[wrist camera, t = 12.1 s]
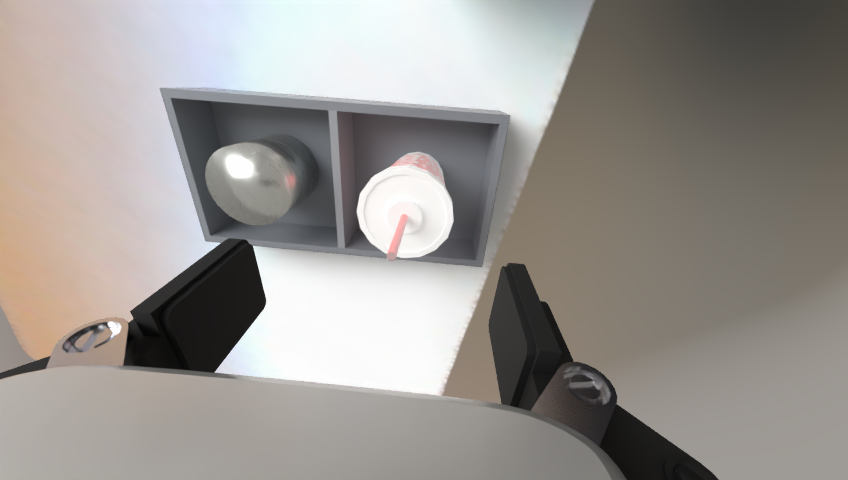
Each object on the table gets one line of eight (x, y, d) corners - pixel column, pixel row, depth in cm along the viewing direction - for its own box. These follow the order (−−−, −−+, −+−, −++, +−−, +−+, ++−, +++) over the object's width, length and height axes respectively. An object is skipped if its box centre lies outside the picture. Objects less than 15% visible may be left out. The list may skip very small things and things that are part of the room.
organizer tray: (205, 87, 25) (159, 87, 21) (499, 110, 24) (510, 115, 20) (236, 221, 31) (205, 241, 27) (477, 243, 30) (482, 267, 26)
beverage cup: (456, 146, 25) (464, 202, 13) (447, 213, 28) (447, 313, 16) (384, 139, 25) (323, 187, 13) (382, 206, 28) (331, 300, 16)
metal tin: (247, 130, 26) (195, 142, 20) (315, 136, 26) (280, 148, 20) (259, 197, 29) (216, 222, 23) (321, 202, 28) (292, 228, 23)
